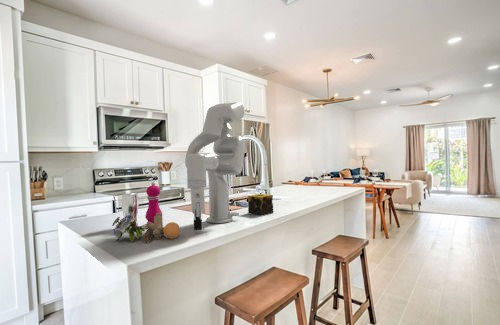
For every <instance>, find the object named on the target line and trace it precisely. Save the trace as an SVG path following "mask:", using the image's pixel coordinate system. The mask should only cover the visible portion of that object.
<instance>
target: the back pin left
mask: <svg viewBox="0 0 500 325" xmlns="http://www.w3.org/2000/svg"><path fill="white" fill-rule="evenodd" d="M153 234H154V240H159V241H160V240H161V239H162V235H161V216H154V233H153Z"/></svg>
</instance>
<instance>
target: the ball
mask: <svg viewBox="0 0 500 325" xmlns="http://www.w3.org/2000/svg"><path fill="white" fill-rule="evenodd" d="M163 227H164V236H165V237H166V238H167V239H175V238H177V237H178V236H179V234H180V232H181V226H180V225H179V224H178V223H177V222H174V221H172V222H168V223H167V224H165V226H163Z"/></svg>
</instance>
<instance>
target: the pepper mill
mask: <svg viewBox="0 0 500 325" xmlns="http://www.w3.org/2000/svg"><path fill="white" fill-rule="evenodd" d="M160 193H161V189H160V186H158V185H156V182H154V181H152V182H151V183H150V185H149V186H147V188H146V194H147V200H148V208H147V209H146V212H145V220H146V224H147V225H148V223H149V222H151V223H154V216H156V213H162V214H163V212H162V210H161V208H160V204H159V200H160Z"/></svg>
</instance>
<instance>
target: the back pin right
mask: <svg viewBox="0 0 500 325" xmlns="http://www.w3.org/2000/svg"><path fill="white" fill-rule="evenodd" d="M156 216H161V227H164V226H163V224H164V223H163V212H162V213H156ZM162 235H163V234H161V236H162Z"/></svg>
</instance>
